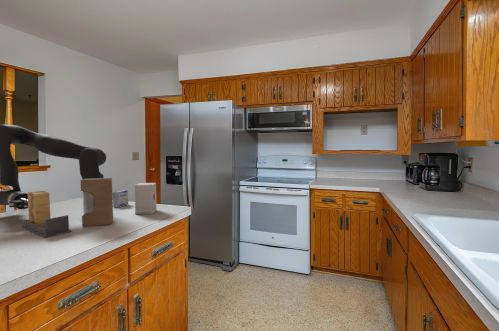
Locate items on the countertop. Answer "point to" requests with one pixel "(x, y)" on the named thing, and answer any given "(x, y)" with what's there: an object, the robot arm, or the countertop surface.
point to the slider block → (38, 207)
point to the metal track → (49, 226)
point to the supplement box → (145, 198)
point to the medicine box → (120, 198)
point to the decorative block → (98, 201)
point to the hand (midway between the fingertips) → (34, 204)
